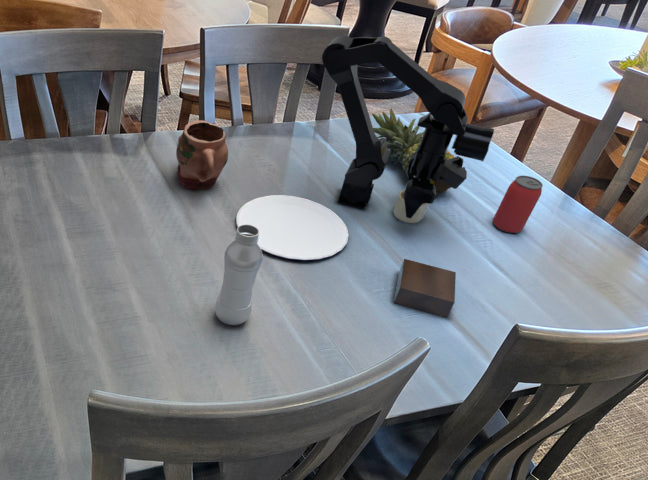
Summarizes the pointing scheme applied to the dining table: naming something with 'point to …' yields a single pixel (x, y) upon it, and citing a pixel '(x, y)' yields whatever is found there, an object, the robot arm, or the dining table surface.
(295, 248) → the plate
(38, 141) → the dining table surface
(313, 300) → the dining table surface
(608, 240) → the dining table surface
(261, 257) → the plastic bottle
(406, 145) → the fruit
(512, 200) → the beer can
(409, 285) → the riser
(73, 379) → the dining table surface
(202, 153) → the decorative planter
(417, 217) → the bowl
